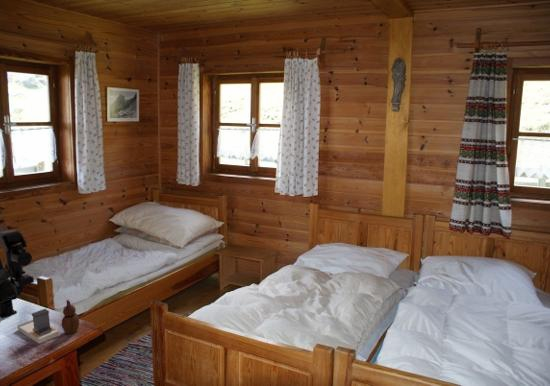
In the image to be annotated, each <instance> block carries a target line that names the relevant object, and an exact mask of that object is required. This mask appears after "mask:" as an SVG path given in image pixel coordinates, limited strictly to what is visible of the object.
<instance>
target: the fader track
mask: <svg viewBox="0 0 550 386" xmlns="http://www.w3.org/2000/svg"><path fill="white" fill-rule="evenodd" d="M50 327H51V328H52V331H50V332H48V333H45V334H43V335H39V334H37V333H35V332H34V331H33V328H34V323H33V319H31V320H29V321H25V322H23V323H20V324H18V325H17V331H19V332H20V333H21V334H23V335H25V336H26V337H28V338H30V340H33V341H34V342H36V343H38V344H42V343H45V342H46V341H49V340H52V339H53V338H54V339H55V338H56V337H58V336H59V333H60V332H59V330H57V329H56V328H54V327H53V326H51V325H50Z"/></svg>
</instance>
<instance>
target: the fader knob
mask: <svg viewBox="0 0 550 386" xmlns="http://www.w3.org/2000/svg"><path fill="white" fill-rule="evenodd" d="M49 313H50V310H48V309H47V308H43V309H41V310H38V311H35V312H32V313H31V316H32V320H33V323H34V328H33V331H34V332H35V333H37V334H39V335H43V334H45V333H48V332H50V331H52V328H51V327H52V326H51V323H50V315H49ZM50 326H51V327H50Z"/></svg>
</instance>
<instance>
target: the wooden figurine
mask: <svg viewBox="0 0 550 386" xmlns="http://www.w3.org/2000/svg"><path fill="white" fill-rule="evenodd" d="M76 309H77V308H76V306H74V305H73V304H71V301H70V300H66V305H65V306H64V307H63V310H62V313H63V317H62V318H61V328H62V329H63V331H64V332H65V334H73V333H75V332H77V330H78V329H79V326H80V317H79V315H78V313H77V312H76Z"/></svg>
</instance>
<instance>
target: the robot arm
mask: <svg viewBox="0 0 550 386" xmlns="http://www.w3.org/2000/svg"><path fill="white" fill-rule="evenodd" d="M0 244H1V246H2V249H3V250H4V255H5V261H6V263H4V265H3V263H2V258H0V318H1V319H3V318H6V317H9V316H11V315H14V314H17V313H18V312H17V310H15V309H14V304H13V301H15V300H17V298H18V296H21V294H22V292H23V289H24V287H25V286H27V285H29V284H32V283H34V282H35V280H34V279H35V278H34V277H33V276H32V275H29V274H26V271H25V270H24V267H26V266H28V265H30V263H31V262H32V260H33V256H32V255H31V253H30V252H28V251H27V250H26V248H27V247H28V245H27V240H25V238H24V235H23V234H22V233H21V232H20V231H19V230H17V229H7V228H5V227H3V226H1V225H0Z"/></svg>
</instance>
